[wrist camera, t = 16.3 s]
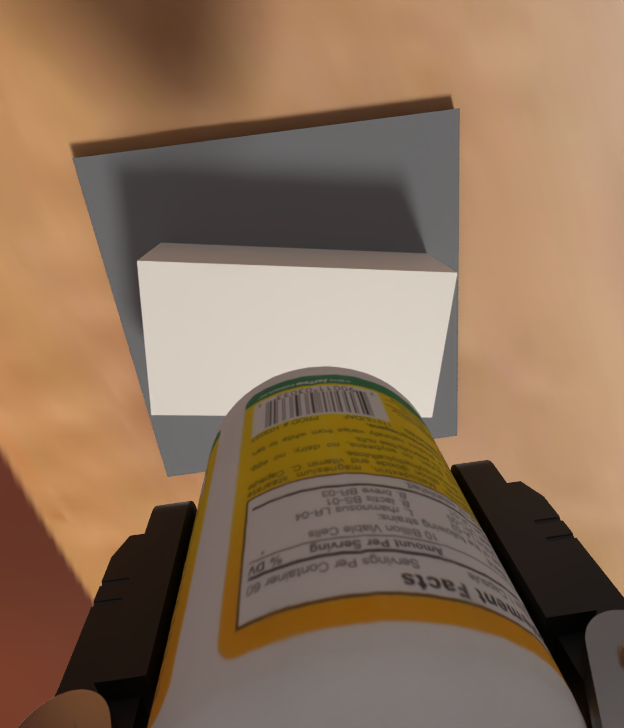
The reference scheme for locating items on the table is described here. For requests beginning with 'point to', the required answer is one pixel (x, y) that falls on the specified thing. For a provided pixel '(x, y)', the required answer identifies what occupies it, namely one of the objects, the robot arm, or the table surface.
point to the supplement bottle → (345, 578)
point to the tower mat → (279, 221)
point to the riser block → (288, 320)
